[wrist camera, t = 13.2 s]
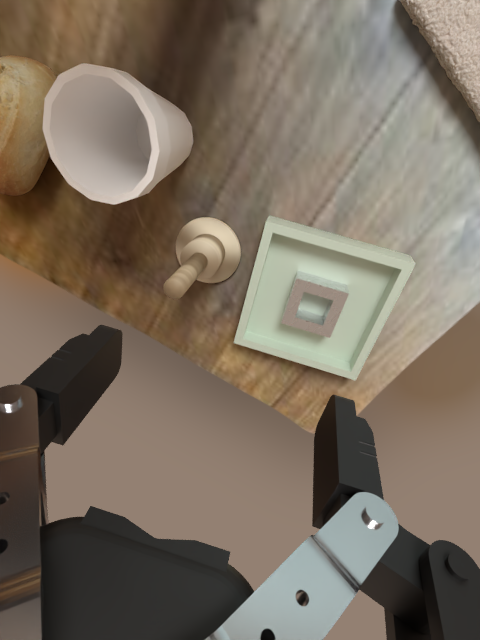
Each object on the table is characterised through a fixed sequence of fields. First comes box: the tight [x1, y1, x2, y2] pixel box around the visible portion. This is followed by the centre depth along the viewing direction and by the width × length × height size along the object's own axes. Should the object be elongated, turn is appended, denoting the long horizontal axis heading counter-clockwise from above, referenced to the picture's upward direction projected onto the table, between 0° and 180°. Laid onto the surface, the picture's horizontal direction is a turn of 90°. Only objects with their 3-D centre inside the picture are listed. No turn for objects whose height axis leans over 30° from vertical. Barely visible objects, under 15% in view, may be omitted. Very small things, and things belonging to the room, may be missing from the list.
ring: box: [281, 271, 349, 338], centre depth 42 cm, size 6×6×2 cm
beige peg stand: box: [163, 217, 241, 299], centre depth 38 cm, size 8×8×12 cm
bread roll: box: [0, 55, 57, 196], centre depth 37 cm, size 10×15×8 cm, turn 144°
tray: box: [234, 215, 416, 380], centre depth 42 cm, size 16×16×3 cm
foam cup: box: [42, 63, 193, 205], centre depth 32 cm, size 10×9×13 cm
